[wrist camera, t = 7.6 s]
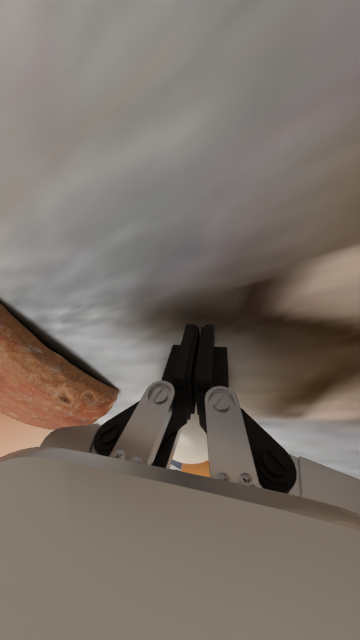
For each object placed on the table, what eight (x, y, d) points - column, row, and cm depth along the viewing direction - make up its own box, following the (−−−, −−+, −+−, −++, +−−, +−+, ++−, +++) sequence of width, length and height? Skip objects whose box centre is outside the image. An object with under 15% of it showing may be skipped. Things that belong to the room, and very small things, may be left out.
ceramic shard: (-109, 386, 17) (-61, 298, 12) (-27, 349, 23) (30, 279, 17) (17, 474, 20) (99, 437, 15) (60, 422, 26) (131, 382, 21)
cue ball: (259, 462, 9) (243, 413, 15) (198, 361, 10) (205, 351, 16) (164, 508, 10) (184, 444, 16) (116, 409, 11) (151, 383, 17)
